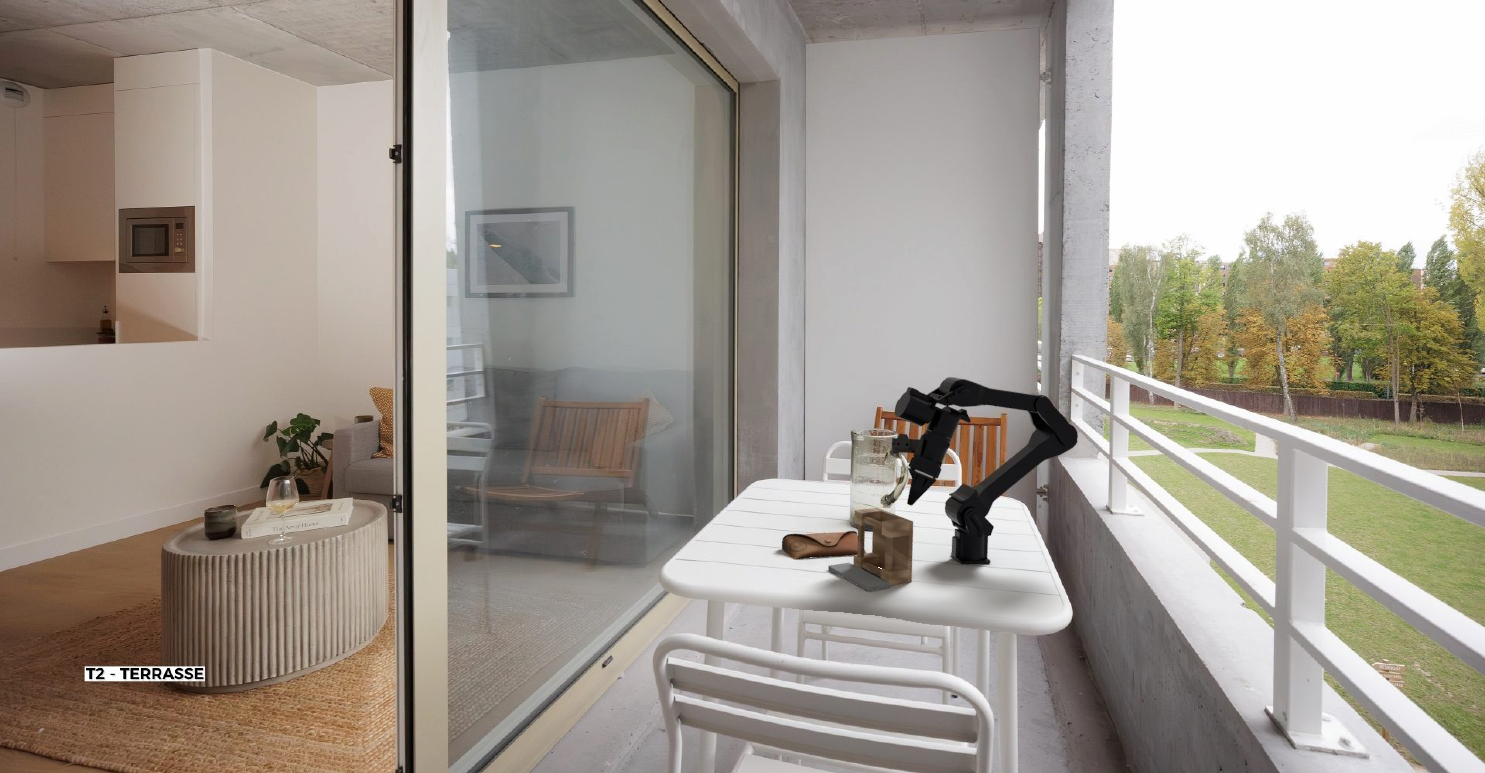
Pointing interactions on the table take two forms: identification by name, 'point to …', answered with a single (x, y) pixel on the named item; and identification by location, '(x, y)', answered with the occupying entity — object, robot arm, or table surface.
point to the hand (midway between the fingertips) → (910, 503)
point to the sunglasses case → (820, 544)
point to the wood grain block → (885, 545)
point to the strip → (859, 576)
